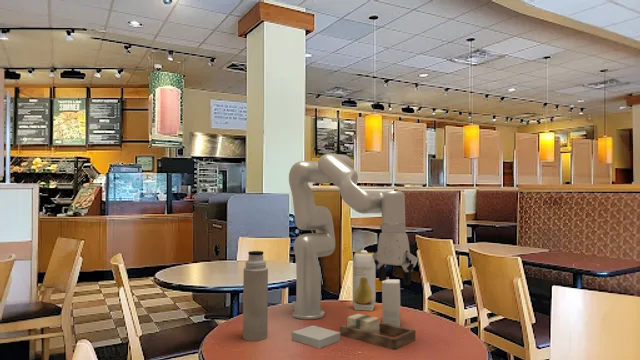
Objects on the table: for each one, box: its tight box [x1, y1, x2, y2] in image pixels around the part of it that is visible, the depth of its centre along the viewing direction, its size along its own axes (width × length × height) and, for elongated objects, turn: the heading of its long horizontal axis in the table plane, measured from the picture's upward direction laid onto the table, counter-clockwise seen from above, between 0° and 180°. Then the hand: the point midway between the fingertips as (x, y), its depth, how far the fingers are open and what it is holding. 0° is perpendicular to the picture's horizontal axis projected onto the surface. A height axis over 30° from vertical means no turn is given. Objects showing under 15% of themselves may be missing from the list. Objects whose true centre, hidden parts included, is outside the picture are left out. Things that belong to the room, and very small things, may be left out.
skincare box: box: [381, 278, 401, 327], centre depth 161 cm, size 8×7×16 cm
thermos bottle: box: [242, 250, 269, 342], centre depth 146 cm, size 8×8×28 cm
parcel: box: [346, 313, 381, 335], centre depth 149 cm, size 9×6×6 cm
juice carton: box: [352, 249, 377, 312], centre depth 183 cm, size 9×8×24 cm
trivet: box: [291, 325, 341, 349], centre depth 142 cm, size 12×10×2 cm
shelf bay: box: [339, 322, 416, 350], centre depth 145 cm, size 21×12×3 cm, turn 48°
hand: (394, 282), depth 142 cm, fingers open, 9 cm apart
